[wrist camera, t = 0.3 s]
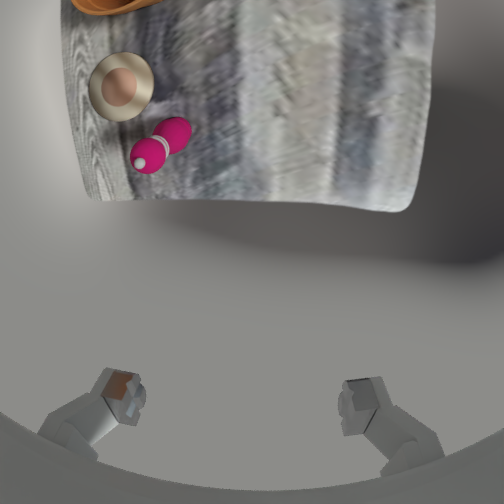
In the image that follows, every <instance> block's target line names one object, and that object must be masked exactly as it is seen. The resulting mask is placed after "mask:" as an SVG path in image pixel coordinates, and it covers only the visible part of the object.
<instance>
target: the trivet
mask: <svg viewBox="0 0 504 504" xmlns="http://www.w3.org/2000/svg"><path fill="white" fill-rule="evenodd" d="M153 91H154V75H153V72H152V69H151V67H150V65H149V64H148V62H147V61H146V60H145V59H144V58H142V57H141V56H139V55H137V54H135V53H130V52H121V53H116V54H113V55H110V56H108V57H107V58H105V59H104V60H103V61H102V62H101V63H100V64H99V65H98V66H97V67H96V69H95V70H94V72H93V74H92V77H91V80H90V86H89V94H90V99H91V102H92V105H93V107H94V108H95V110H96V111H97V112H98V113H99V114H100V115H101V116H102V117H104V118H106V119H108V120H111V121H117V122H118V121H126V120H129V119H131V118H133V117H135V116H137V115H138V114H140V113H141V112H142V111H143V110H144V109H145V108H146V106H147V105H148V103H149V102H150V100H151V97H152V95H153Z"/></svg>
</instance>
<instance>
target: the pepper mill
mask: <svg viewBox="0 0 504 504" xmlns="http://www.w3.org/2000/svg"><path fill="white" fill-rule="evenodd" d="M191 132H192V130H191V126H190V124H189V122H188V121H187V120H185V119H184V118H181V117H174V118H171V119H166V120H164V121H162V122H161V123H159V124H158V125H157V126H156V128H155V130H154V132H153V135H152V136H150V137H148V138H144V139H141V140H139V141H138V142H137V143H136V144H135V145H134V146H133V148H132V150H131V153H130V161H131V164H132V166H133V167H134V168H135V169H136V170H137V171H138V172H140V173H143V174H151V173H154V172H156V171H158V170H159V169H160V168H161V167H162V166H163V164H164V162H165V159H166V158H167V156H168V155H170V154H175V153H177V152H179V151H181V150H182V149H183V148H184V147H185V146H186V144H187V142H188V140H189V138H190V136H191Z"/></svg>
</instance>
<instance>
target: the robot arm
mask: <svg viewBox="0 0 504 504" xmlns="http://www.w3.org/2000/svg"><path fill="white" fill-rule="evenodd" d="M140 381H141V378H140V376H139V374H136V373H131V372H126V371H121V370H117V369H112V368H105V369H104V370H103V371H102V373H101V375H100V376H99V378H98V380H97V381H96V383H95V385H94V387H93V388H92V390H91V392H90V393H85V394H84V395H82V396H80V397H78V398H76V399H75V400H73V401H71V402H69V403H68V404H66V405H64V406H62V407H60V408H58V409H57V410H55V411H53V412H51V413H49V414H48V416H47V418H46V419H45V421H44V423H43V425H42V426H41V428H40V430H39V431H38V433H37V434H36V433H34V432H32V431H31V430H29V429H27V428H25V427H24V426H22V425H20V424H19V423H17V422H15V421H14V420H12V419H10V418H9V417H7V416H6V415H4V414H3V413H1V412H0V504H504V428H503V429H501V430H499V431H497V432H496V433H494V434H492V435H490V436H488V437H486V438H485V439H483V440H481V441H479V442H477V443H475V444H473V445H470V446H468V447H466V448H464V449H462V450H460V451H457V452H455V453H453V454H450V455H448V456H446V457H445V455H444V452H443V449H442V447H441V444H440V442H439V439H438V437H437V435H436V433H435V432H434V431H432V430H431V429H430V428H428V427H427V426H425V425H424V424H422V423H421V422H419V421H418V420H416V419H415V418H414V417H412V416H411V415H409V414H408V413H407V412H405V411H403V410H402V409H401V408H400V407H398V406H397V405H395V406H393V404H392V401H391V399H390V396H389V394H388V391H387V389H386V386H385V384H384V381H383V379H382V377H380V376H378V377H371V378H362V379H354V380H345V381H344V383H343V385H342V389H343V391H342V392H341V393H340V395H339V398H338V410H339V415H340V416H341V417H343V420H342V422H341V425H342V430H343V434H344V436H349V435H358V434H364V436H365V437H366V438H367V439H368V440H369V441H370V442H371V443H372V444H373V445H374V446H375V447H376V448H377V449H378V450H379V451H380V452H381V453H382V454H383V455H384V456H385V457H387V459H389V462H388V463H387V464H386V465H385V466H384V467H383V469H382V470H381V471H380V473H381V477H380V478H375V479H371V480H366V481H361V482H356V483H350V484H345V485H339V486H331V487H323V488H313V489H301V490H281V491H251V490H231V489H219V488H210V487H202V486H194V485H188V484H182V483H176V482H171V481H166V480H161V479H156V478H152V477H148V476H144V475H140V474H136V473H133V472H129V471H126V470H123V469H119V468H116V467H113V466H110V465H107V464H104V463H101V462H99V461H97V458H98V454H97V452H96V451H95V450H94V449H93V448H92V447H91V446H92V445H93V444H94V443H95V442H97V441H98V440H99V439H100V438H102V437H103V436H104V435H105V434H107V433H108V432H109V431H110V430H111V429H113V428H114V427H115V426H116V425H117V424H118V423H122V424H127V425H132V426H136V425H137V422H138V420H139V417H140V412H139V409H141V408H142V407H144V404H145V402H146V390H145V388H144V386H142V384H140Z"/></svg>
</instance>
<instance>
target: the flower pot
mask: <svg viewBox="0 0 504 504" xmlns="http://www.w3.org/2000/svg"><path fill="white" fill-rule="evenodd" d="M161 1H163V0H71V2H72V3H73V5H74V6H75V7H76V8H77V9H78V10H80V11H82V12H84V13H87V14H90V15H118V14H124V13H127V12H131V11H134V10H136V9H139V8H141V7H146V6H150V5H153V4H156V3H159V2H161Z"/></svg>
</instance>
